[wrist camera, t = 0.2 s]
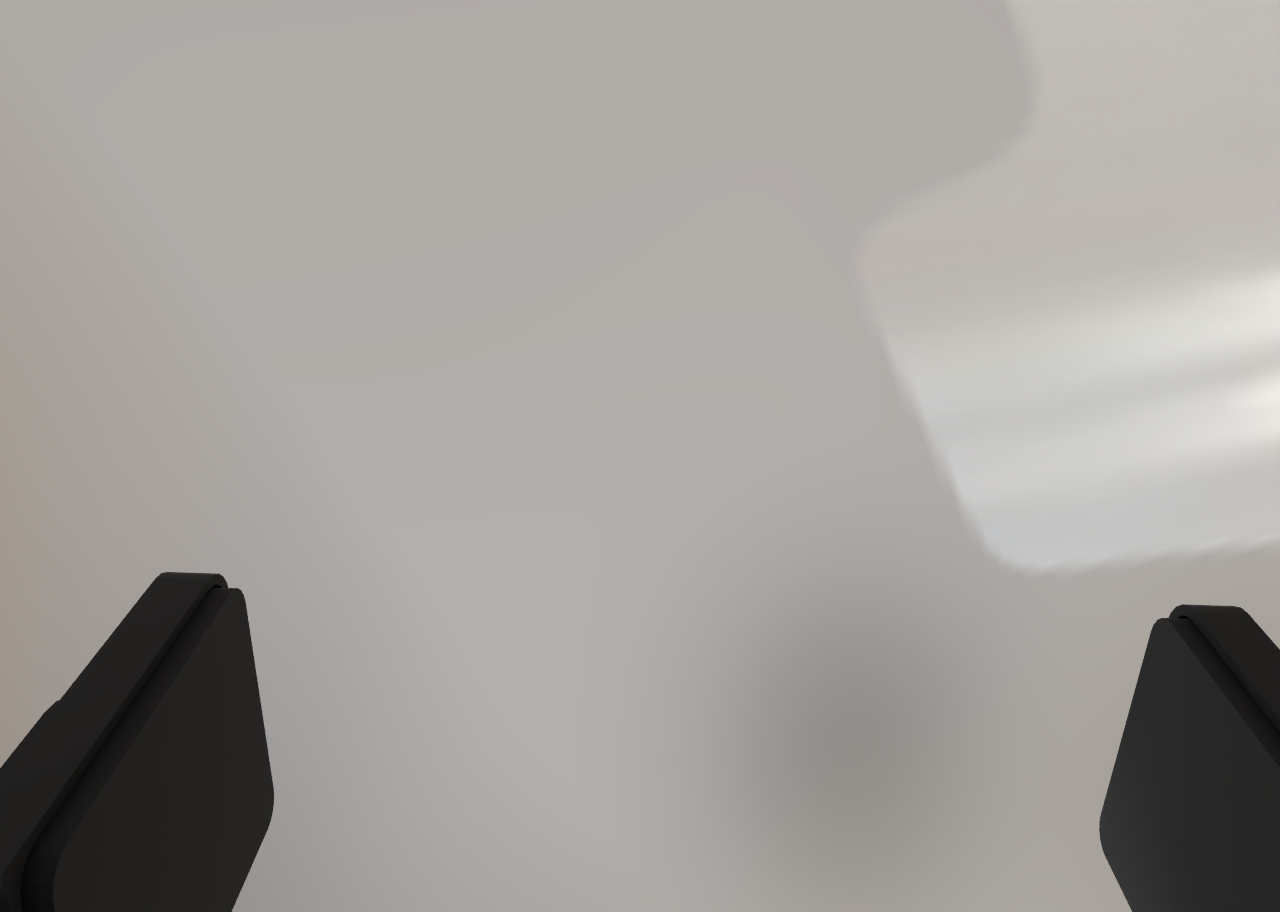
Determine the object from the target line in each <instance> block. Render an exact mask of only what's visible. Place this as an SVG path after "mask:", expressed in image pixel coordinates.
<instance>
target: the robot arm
mask: <svg viewBox="0 0 1280 912" xmlns="http://www.w3.org/2000/svg"><path fill="white" fill-rule="evenodd" d="M273 804H274V789H273V782H272V775H271V769H270V762H269V756H268V748H267V743H266V735H265V728H264V722H263V715H262V709H261V702H260V695H259V689H258V682H257V675H256V669H255V662H254V656H253V649H252V642H251V636H250V629H249V622H248V616H247V609H246V603H245V599H244V595H243V593H242V591H241V590H240V589H238V588H228V585H227V582H226V581H225V579H224V577H223V576H221V575H220V574H209V573H208V574H207V573H175V572H166V573H161V574H160V575H159V576H158V577H157V578H156V579H155V580H154V581H153V582H152V584H151V585H150V587H148V589H147V590H146V591H145V593H144V594H143V595H142V596H141V598H140V599H139V600H138V602H137V603H136V604H135V605H134V607H133V608H132V609H131V610H130V612H129V613H128V614H127V615H126V617H125V618H124V619H123V621H122V622H121V623H120V624H119V626H118V627H117V628H116V629H115V631H114V632H113V633H112V635H111V636H110V637H109V639H108V640H107V641H106V642H105V643H104V645H103V646H102V647H101V649H100V650H99V651H98V652H97V654H96V655H95V656H94V657H93V659H92V660H91V661H90V663H89V664H88V665H87V666H86V668H85V669H84V670H83V671H82V673H81V674H80V675H79V677H78V678H77V679H76V680H75V681H74V683H73V684H72V686H71V687H70V688H69V689H68V690H67V692H66V693H65V695H63V697H62V698H61V699H60V700H59V701H56V702H55V703H54V704H53V705H52V706H51V707H50V708H49V709H48V710H47V711H46V712H45V713H44V714H43V715H42V717H41V718H40V719H39V720H38V722H37V723H36V724H35V725H34V727H33V728H32V729H31V730H30V732H29V733H28V734H27V735H26V737H25V738H24V739H23V741H22V742H21V743H20V744H19V746H18V747H17V748H16V749H15V751H14V752H13V753H12V754H11V756H10V757H9V758H8V759H7V761H6V762H5V763H4V764H3V766H2V767H1V768H0V912H232V909H233V907H234V905H235V903H236V900H237V898H238V896H239V893H240V891H241V889H242V887H243V884H244V882H245V880H246V877H247V875H248V873H249V871H250V868H251V866H252V864H253V862H254V859H255V857H256V855H257V852H258V850H259V848H260V845H261V843H262V841H263V839H264V836H265V834H266V832H267V830H268V827H269V824H270V821H271V816H272V812H273ZM1099 831H1100V840H1101V844H1102V848H1103V851H1104V854H1105V857H1106V859H1107V860H1108V863H1109V865H1110V867H1111V869H1112V871H1113V873H1114V875H1115V877H1116V879H1117V881H1118V883H1119V885H1120V887H1121V889H1122V891H1123V893H1124V896H1125V898H1126V900H1127V901H1128V904H1129V906H1130V908H1131V910H1132V912H1280V650H1279V648H1278V647H1277V646H1276V645H1275V644H1274V643H1273V642H1272V640H1271V639H1270V638H1269V637H1268V636H1267V635H1266V634H1265V633H1264V631H1263V630H1262V629H1261V628H1260V627H1259V626H1258V624H1257V623H1256V622H1255V621H1254V620H1253V619H1252V618H1251V616H1250V615H1249V614H1248V613H1247V612H1245V611H1244V610H1243V609H1242V608H1240V607H1235V606H1210V605H1180V606H1177V607H1176V608H1175V609H1174V610H1173V611H1172V612H1171V614H1170V616H1169V618H1161V619H1159V620H1157V622H1156V623H1155V624H1154V625H1153V628H1152V631H1151V634H1150V638H1149V641H1148V645H1147V649H1146V652H1145V656H1144V659H1143V663H1142V667H1141V670H1140V674H1139V677H1138V681H1137V685H1136V689H1135V693H1134V696H1133V700H1132V703H1131V707H1130V710H1129V714H1128V718H1127V721H1126V725H1125V729H1124V732H1123V736H1122V739H1121V743H1120V747H1119V751H1118V754H1117V758H1116V762H1115V765H1114V769H1113V773H1112V776H1111V780H1110V783H1109V787H1108V790H1107V794H1106V798H1105V801H1104V805H1103V809H1102V812H1101V817H1100V830H1099Z"/></svg>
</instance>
